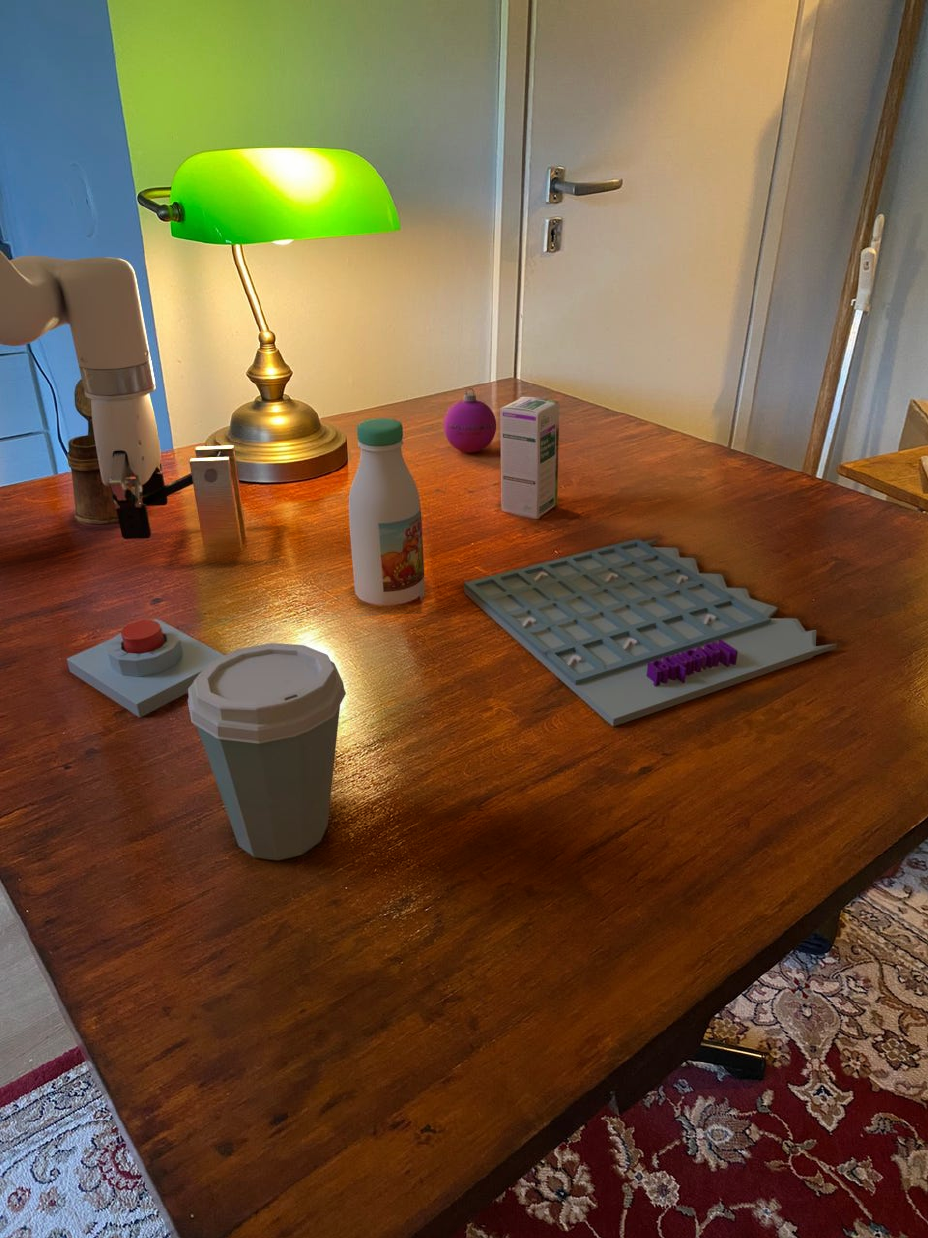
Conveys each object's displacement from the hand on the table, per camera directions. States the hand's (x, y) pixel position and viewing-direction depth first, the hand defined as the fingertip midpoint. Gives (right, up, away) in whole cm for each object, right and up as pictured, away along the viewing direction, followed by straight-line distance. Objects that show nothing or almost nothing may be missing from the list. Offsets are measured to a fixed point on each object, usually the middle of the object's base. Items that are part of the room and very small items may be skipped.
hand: (146, 520), depth 109 cm
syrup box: (+47, +3, +14) cm, 49 cm away
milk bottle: (+30, -10, -8) cm, 32 cm away
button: (+8, -14, -23) cm, 28 cm away
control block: (+8, -17, -21) cm, 29 cm away
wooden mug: (-9, +2, +14) cm, 17 cm away
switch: (+5, +3, -1) cm, 6 cm away
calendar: (+57, -12, -13) cm, 59 cm away
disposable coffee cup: (+25, -28, -40) cm, 55 cm away
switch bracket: (+9, -4, +3) cm, 10 cm away
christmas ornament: (+39, +14, +34) cm, 54 cm away
